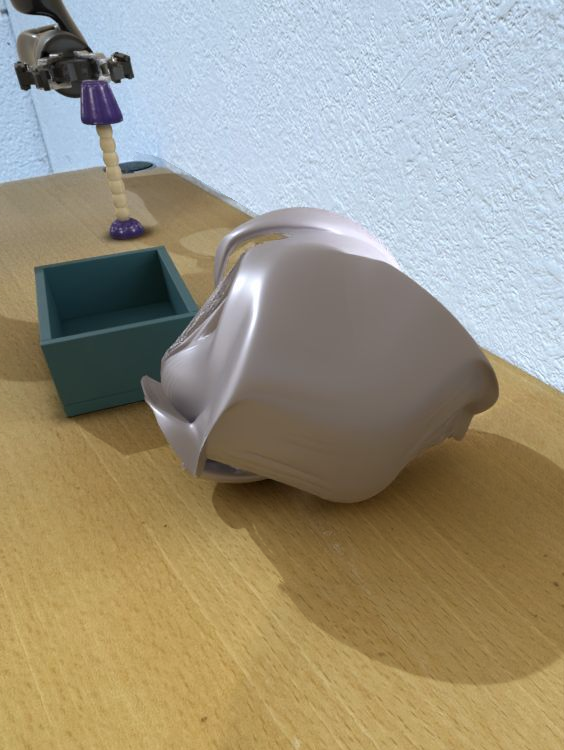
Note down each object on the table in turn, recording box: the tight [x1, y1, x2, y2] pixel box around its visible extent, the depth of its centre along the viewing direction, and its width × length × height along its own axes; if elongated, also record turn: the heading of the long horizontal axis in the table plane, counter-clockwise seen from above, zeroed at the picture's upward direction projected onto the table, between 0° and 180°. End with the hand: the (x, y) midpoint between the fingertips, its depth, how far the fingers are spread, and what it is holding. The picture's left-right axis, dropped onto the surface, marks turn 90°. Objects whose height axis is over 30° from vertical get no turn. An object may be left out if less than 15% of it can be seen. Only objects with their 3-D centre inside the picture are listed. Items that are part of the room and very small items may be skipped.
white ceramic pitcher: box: [141, 206, 500, 504], centre depth 43 cm, size 20×18×15 cm
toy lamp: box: [79, 80, 146, 240], centre depth 83 cm, size 5×5×17 cm
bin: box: [33, 245, 200, 418], centre depth 59 cm, size 18×12×6 cm, turn 23°
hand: (81, 77), depth 86 cm, fingers open, 8 cm apart
